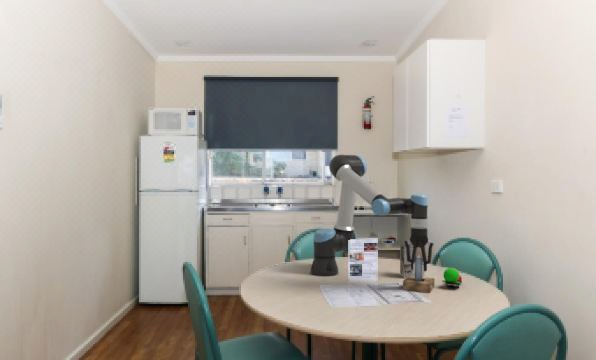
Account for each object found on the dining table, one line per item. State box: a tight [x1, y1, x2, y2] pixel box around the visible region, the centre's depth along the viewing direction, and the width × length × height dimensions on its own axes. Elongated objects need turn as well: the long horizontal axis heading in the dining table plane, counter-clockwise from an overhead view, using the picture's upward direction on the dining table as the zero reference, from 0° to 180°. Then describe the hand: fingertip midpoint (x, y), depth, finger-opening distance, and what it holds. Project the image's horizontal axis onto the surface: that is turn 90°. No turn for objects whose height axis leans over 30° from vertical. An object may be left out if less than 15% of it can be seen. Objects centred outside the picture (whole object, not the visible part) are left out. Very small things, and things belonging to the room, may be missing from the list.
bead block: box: [402, 276, 435, 294], centre depth 198 cm, size 12×12×4 cm
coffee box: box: [399, 244, 417, 279], centre depth 221 cm, size 9×6×16 cm
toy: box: [441, 267, 463, 289], centre depth 201 cm, size 8×8×15 cm
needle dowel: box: [415, 254, 423, 281], centre depth 198 cm, size 3×3×15 cm
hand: (418, 277), depth 198 cm, fingers closed on needle dowel, 3 cm apart
